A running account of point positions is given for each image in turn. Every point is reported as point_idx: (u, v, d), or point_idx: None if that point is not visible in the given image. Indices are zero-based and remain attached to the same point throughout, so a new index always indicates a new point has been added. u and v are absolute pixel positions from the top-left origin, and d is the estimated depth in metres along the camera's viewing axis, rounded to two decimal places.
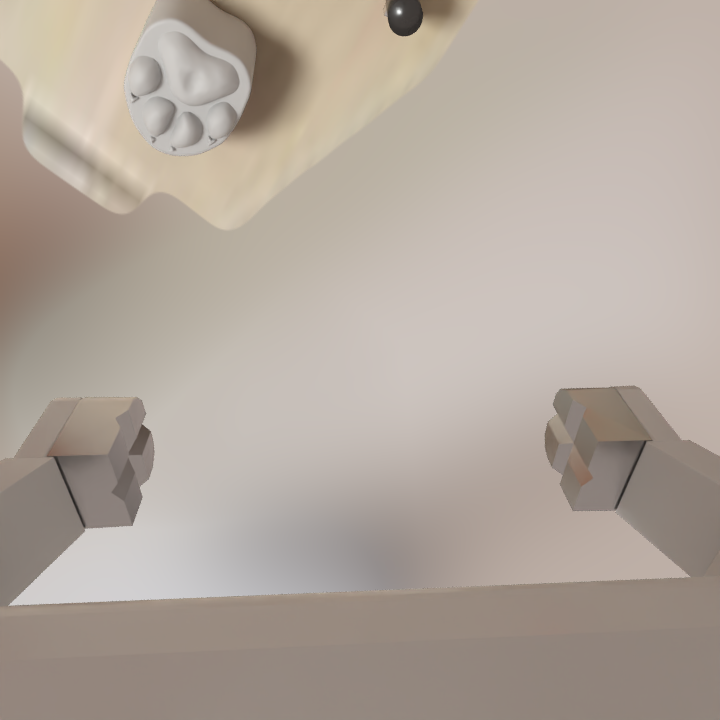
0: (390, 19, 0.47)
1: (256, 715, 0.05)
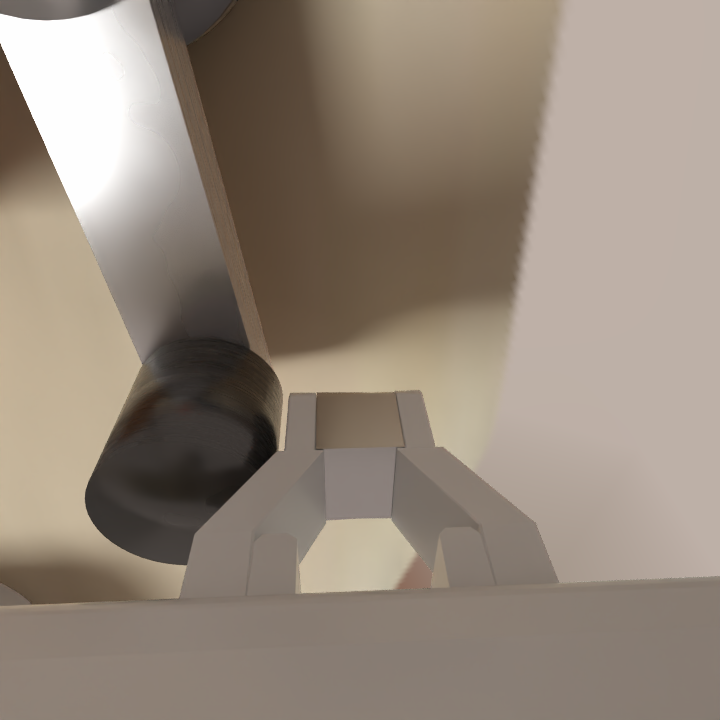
0: (127, 542, 0.09)
1: (255, 715, 0.05)
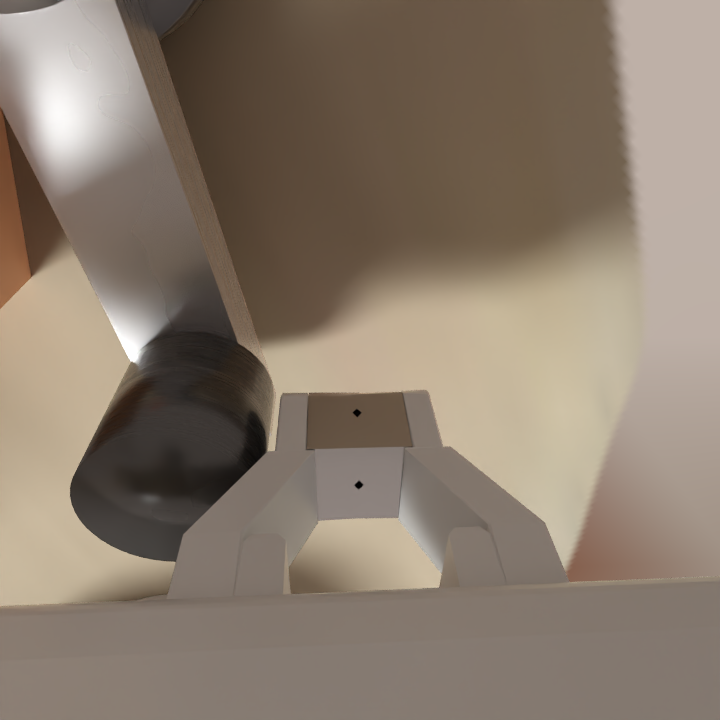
0: (117, 540, 0.09)
1: (256, 715, 0.05)
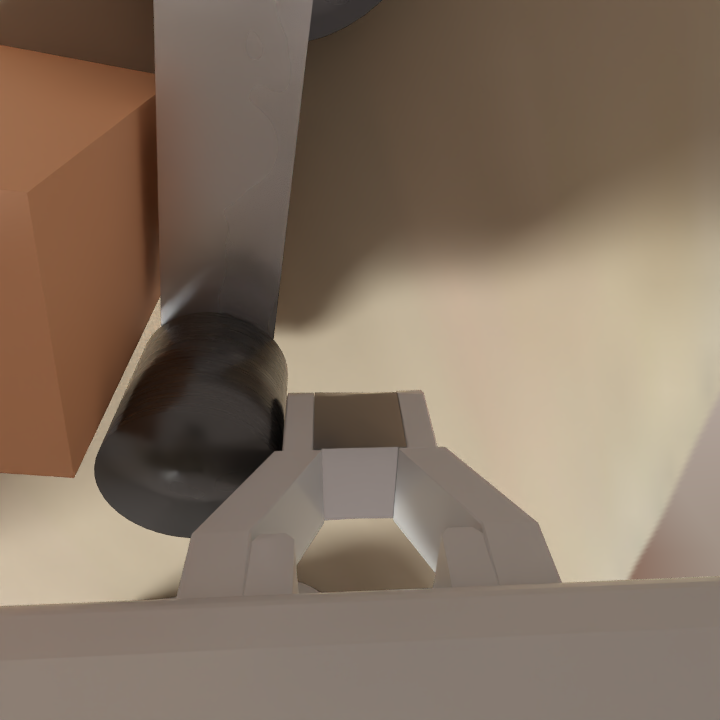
0: (120, 502, 0.09)
1: (256, 715, 0.05)
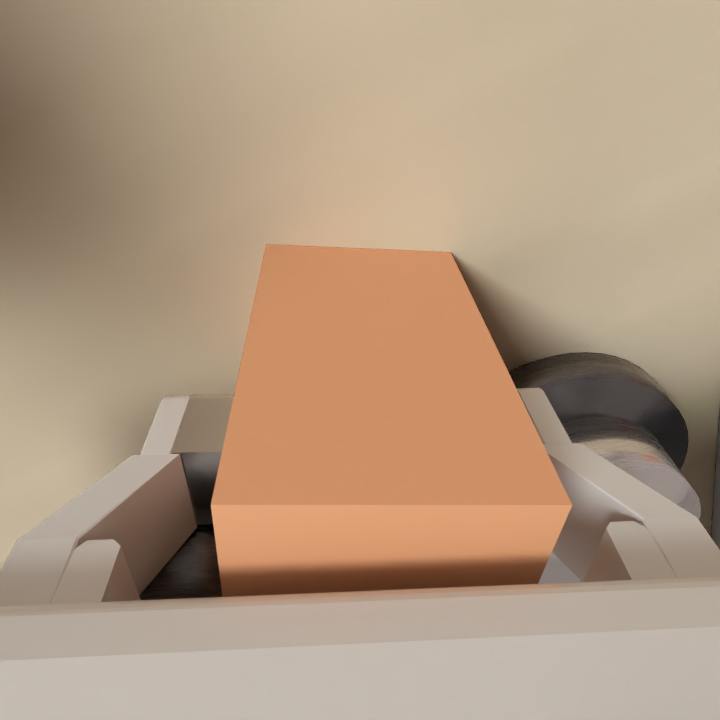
0: None
1: (256, 715, 0.05)
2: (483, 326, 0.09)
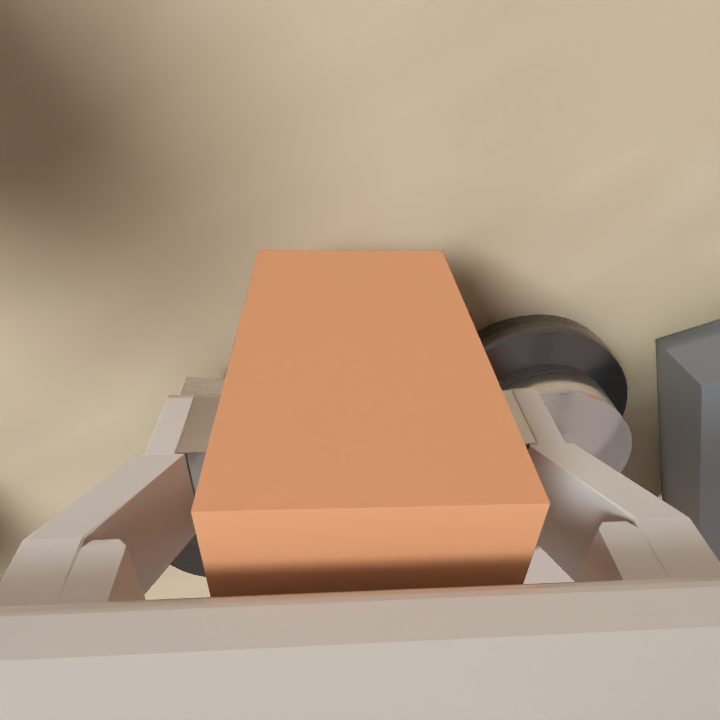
0: None
1: (256, 715, 0.05)
2: (470, 325, 0.09)
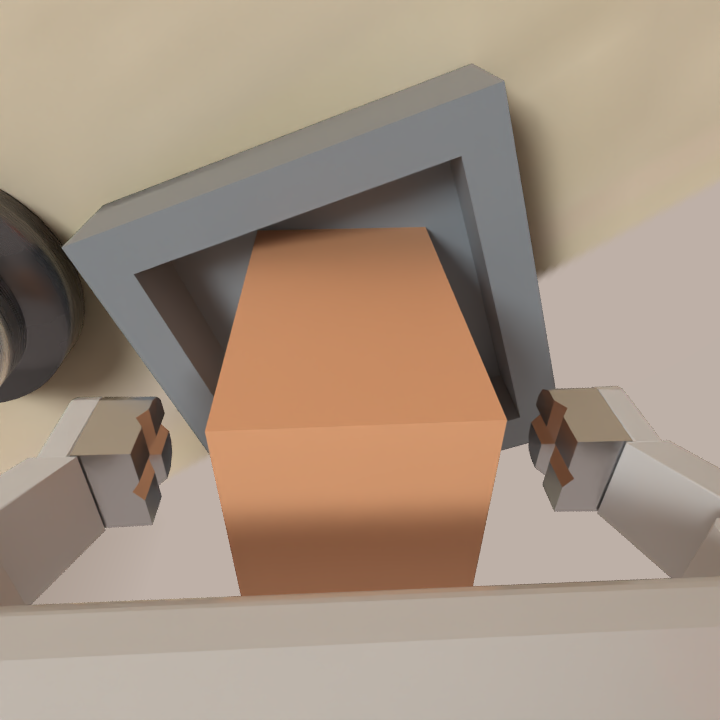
0: None
1: (256, 715, 0.05)
2: (447, 287, 0.10)
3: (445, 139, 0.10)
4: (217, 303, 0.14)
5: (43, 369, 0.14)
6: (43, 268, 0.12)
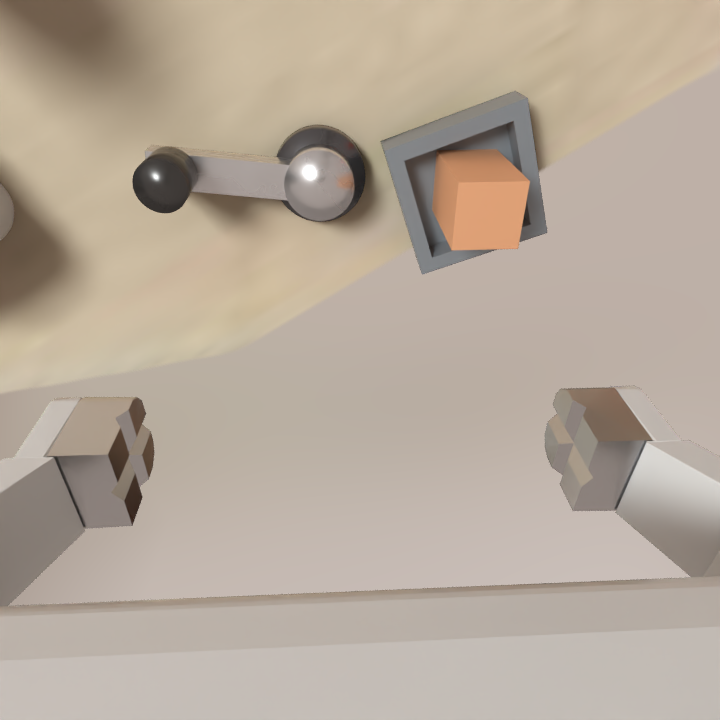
0: (146, 165, 0.30)
1: (256, 716, 0.05)
2: (509, 162, 0.33)
3: (509, 115, 0.33)
4: (416, 180, 0.37)
5: (349, 205, 0.37)
6: None
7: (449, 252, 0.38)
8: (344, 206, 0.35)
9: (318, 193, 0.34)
